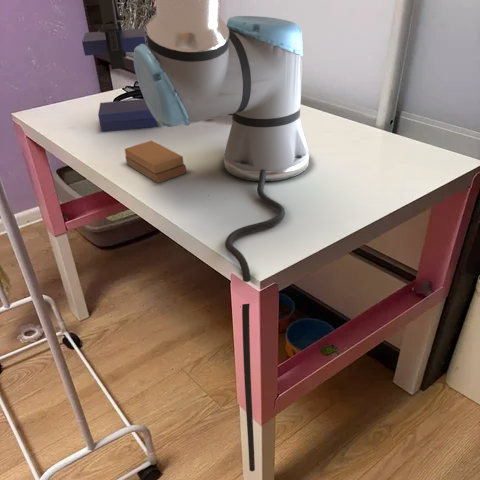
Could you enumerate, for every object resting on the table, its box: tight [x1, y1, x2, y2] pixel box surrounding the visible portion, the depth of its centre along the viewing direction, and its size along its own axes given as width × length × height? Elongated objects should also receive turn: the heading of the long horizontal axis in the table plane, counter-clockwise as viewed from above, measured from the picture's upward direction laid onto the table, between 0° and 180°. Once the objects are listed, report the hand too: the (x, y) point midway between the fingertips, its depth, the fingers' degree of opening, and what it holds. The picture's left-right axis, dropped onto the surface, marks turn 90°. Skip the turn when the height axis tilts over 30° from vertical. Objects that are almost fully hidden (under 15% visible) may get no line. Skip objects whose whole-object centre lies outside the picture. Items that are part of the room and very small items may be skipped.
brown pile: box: [124, 140, 187, 184], centre depth 92 cm, size 11×6×3 cm, turn 39°
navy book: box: [81, 27, 147, 57], centre depth 102 cm, size 12×8×2 cm, turn 99°
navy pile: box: [97, 98, 159, 133], centre depth 111 cm, size 12×8×4 cm, turn 99°
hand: (119, 62), depth 105 cm, fingers closed on navy book, 8 cm apart
